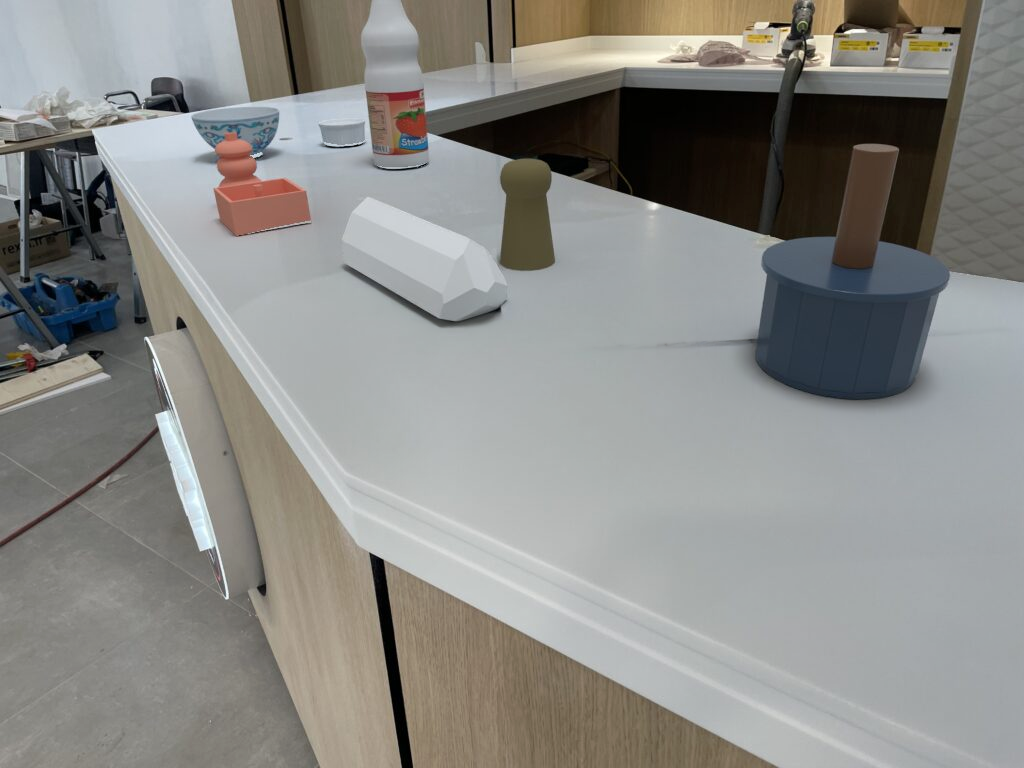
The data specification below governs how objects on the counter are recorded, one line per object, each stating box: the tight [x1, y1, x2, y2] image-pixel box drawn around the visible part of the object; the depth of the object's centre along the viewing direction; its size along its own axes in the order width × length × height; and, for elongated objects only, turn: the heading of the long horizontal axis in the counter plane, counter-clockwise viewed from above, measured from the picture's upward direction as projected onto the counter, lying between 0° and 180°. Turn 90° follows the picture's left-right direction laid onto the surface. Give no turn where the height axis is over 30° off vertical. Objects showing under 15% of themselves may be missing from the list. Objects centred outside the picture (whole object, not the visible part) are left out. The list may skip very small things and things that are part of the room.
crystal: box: [341, 196, 509, 322], centre depth 72 cm, size 7×7×24 cm
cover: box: [760, 143, 951, 303], centre depth 51 cm, size 12×12×9 cm
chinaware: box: [190, 106, 280, 155], centre depth 133 cm, size 15×15×8 cm
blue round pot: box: [755, 274, 940, 400], centre depth 55 cm, size 11×11×8 cm
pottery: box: [213, 132, 312, 237], centre depth 97 cm, size 18×10×10 cm, turn 32°
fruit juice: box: [360, 0, 430, 167], centre depth 118 cm, size 9×9×28 cm
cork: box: [499, 158, 556, 272], centre depth 75 cm, size 6×6×11 cm
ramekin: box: [317, 117, 366, 145], centre depth 142 cm, size 9×9×4 cm
